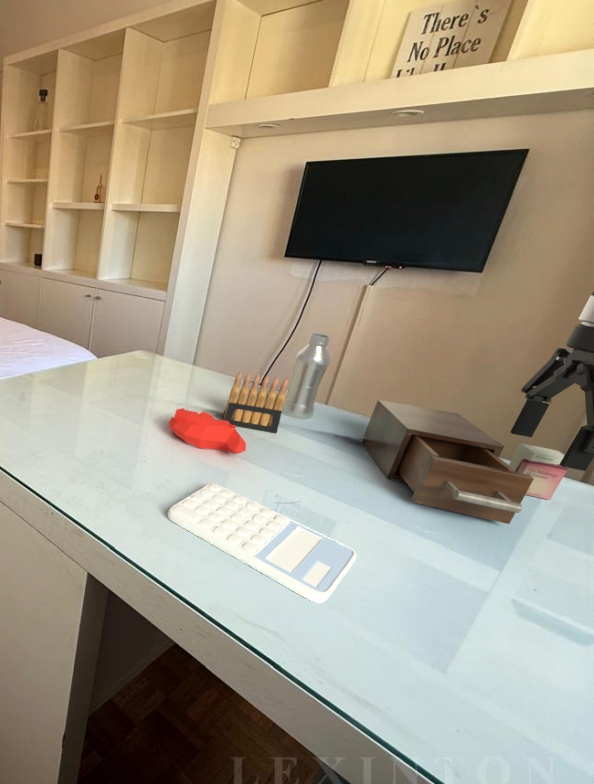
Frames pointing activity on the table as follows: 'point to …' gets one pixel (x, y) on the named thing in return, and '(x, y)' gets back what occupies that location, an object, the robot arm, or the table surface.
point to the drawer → (462, 479)
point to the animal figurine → (206, 431)
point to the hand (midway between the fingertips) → (544, 450)
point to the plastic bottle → (307, 377)
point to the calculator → (266, 541)
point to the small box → (539, 469)
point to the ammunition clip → (255, 404)
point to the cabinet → (416, 433)
